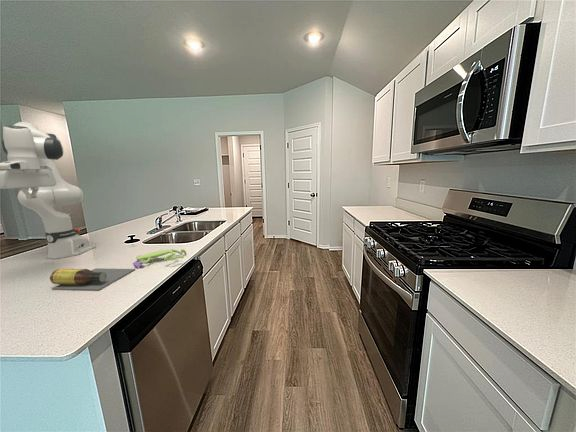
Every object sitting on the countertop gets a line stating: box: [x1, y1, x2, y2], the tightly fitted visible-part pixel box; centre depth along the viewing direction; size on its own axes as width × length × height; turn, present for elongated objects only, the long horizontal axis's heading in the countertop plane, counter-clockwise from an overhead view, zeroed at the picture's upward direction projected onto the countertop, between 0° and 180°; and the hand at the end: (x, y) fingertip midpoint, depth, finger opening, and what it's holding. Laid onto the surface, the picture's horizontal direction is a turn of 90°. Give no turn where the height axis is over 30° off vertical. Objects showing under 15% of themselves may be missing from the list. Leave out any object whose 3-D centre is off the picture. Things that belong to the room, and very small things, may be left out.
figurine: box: [132, 248, 187, 269], centre depth 124 cm, size 18×27×6 cm
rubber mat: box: [51, 267, 136, 292], centre depth 104 cm, size 20×20×1 cm
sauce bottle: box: [49, 268, 107, 285], centre depth 98 cm, size 6×6×20 cm
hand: (31, 198), depth 104 cm, fingers closed
